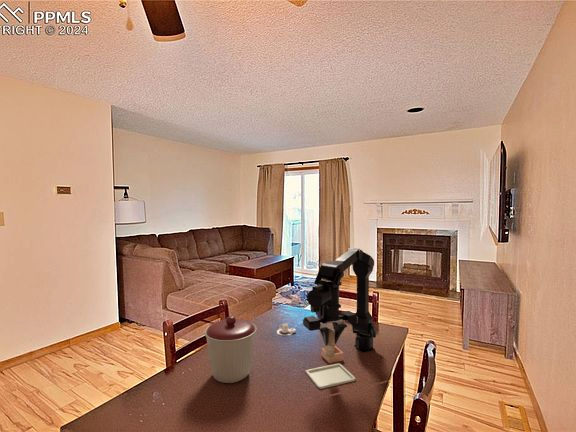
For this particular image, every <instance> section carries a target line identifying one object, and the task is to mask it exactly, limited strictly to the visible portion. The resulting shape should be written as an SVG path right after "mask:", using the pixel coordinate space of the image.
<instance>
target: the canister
mask: <svg viewBox="0 0 576 432" xmlns="http://www.w3.org/2000/svg"><path fill="white" fill-rule="evenodd" d="M257 329H258V328H257V325H255V324H254V323H253V322H250V321H249V320H246V319H242V318H236V317H235V316H233V315H228V316H227V317H226V318H225V319H222V320H218V321H216V322H213V323H212V324H210V325H208V326H207V327H206V328H205V329H204V333H203V334H204V336H205V337H206V343H207V351H208V359H209V367H210V372H211V375H212V377H213V378H214V380H216V381H217V382H219V383H225V384H234V383H237V382H239V381H242V380H244V379H246V378H247V376H248V375H249V373H250V371H251V368H252V360H253V353H254V343H255V334H256V332H257Z"/></svg>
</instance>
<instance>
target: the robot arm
mask: <svg viewBox="0 0 576 432" xmlns="http://www.w3.org/2000/svg"><path fill="white" fill-rule="evenodd" d="M350 267H352V272H353V273H354V274H355V276H356V311H355V313H353V312H352V311H350V310H345V311H340V308H342V305H341V304H340V286H342V282H341V280H342V279H343V277H344V276H345V273H344V272H345V271H346V270H347V269H348V268H350ZM374 267H375V260H374V257H372V256H371V255H370V254H368V253H366V252H364V251H363V250H362V249H360V248H355V247H354V248H353V247H350V248H348V249H347V251H346V252H344V253H343V254H341V255H340V256H339V257H337V258H336V259H335V260H331V261H326V262H323V263H322V264H320V267H319V269H318V271H317V275H316V277H315V280H314V283H313V284H314V285H313V286H312V287H311V289H312V290H310V291H308V292H307V297H306V299H307V303H308V304H309V306H310V313H315V315H318V316H319V317H320V318H318V317H316V316H314V315H311V316H304V318H303V320H302V325H303V326H304V327H305V328H306V329H307V330H308V331H311V332H312V331H318V330H319V332H320V334H321V337H322V340H323V344H324V345H325V347H326V346H327V345H328V336H329V328H328V324H331V323H332V327H333V328H332V329H334V330H335V345H337V343H338V341H339V338H340V337H341V335H342V334H343V332H344V330H345V328H347V327H348V325H347V324H346V321H347V322H348V323H349V325H351V330H352V334H355V338H354V339H355V343H354V345H353V346H354V348H355V349H357V350H358V351H360V352H361V353H367V352H372V351H376V348H375V347H374V338H377V334H378V329H377V328H376V326H375V324H374V318H373V316H372V314H371V312H370V308H369V307H370V302H369V301H370V275H371V274H372V273H373V270H374Z"/></svg>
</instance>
